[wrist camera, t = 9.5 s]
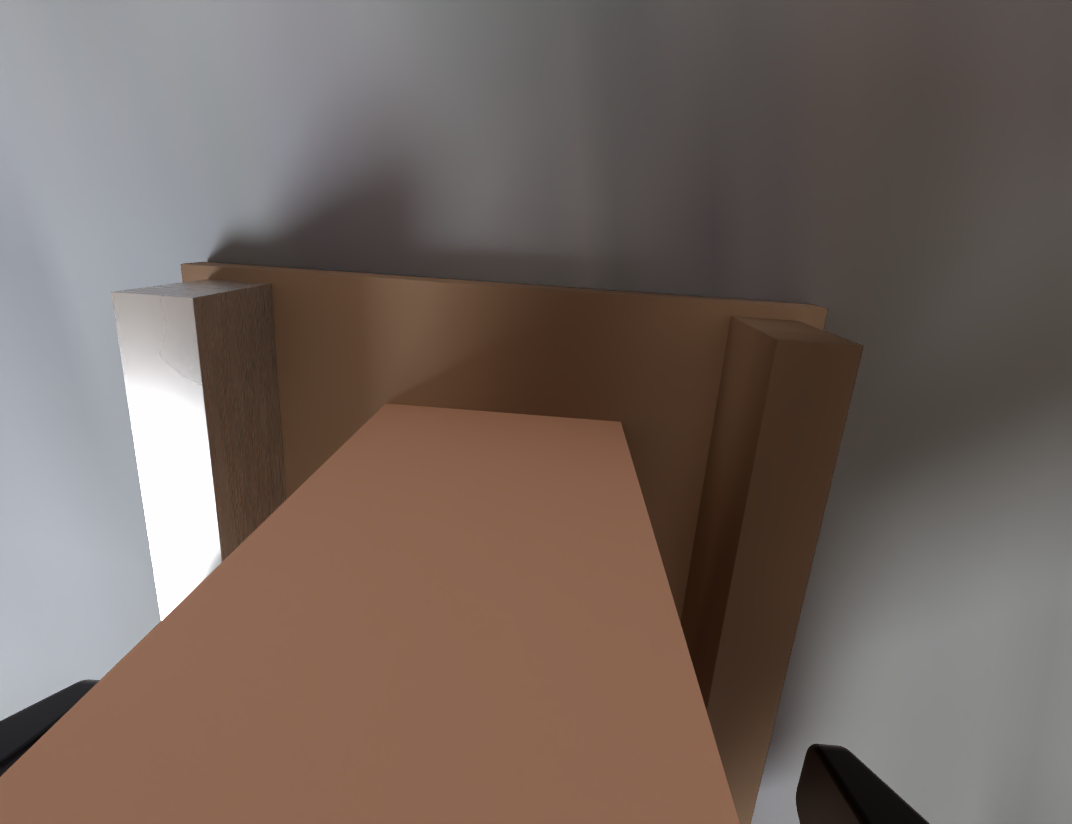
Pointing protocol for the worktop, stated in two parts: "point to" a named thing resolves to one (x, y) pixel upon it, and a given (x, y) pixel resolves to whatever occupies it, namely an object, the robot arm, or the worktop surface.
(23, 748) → the robot arm
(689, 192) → the worktop surface
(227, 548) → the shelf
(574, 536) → the box
